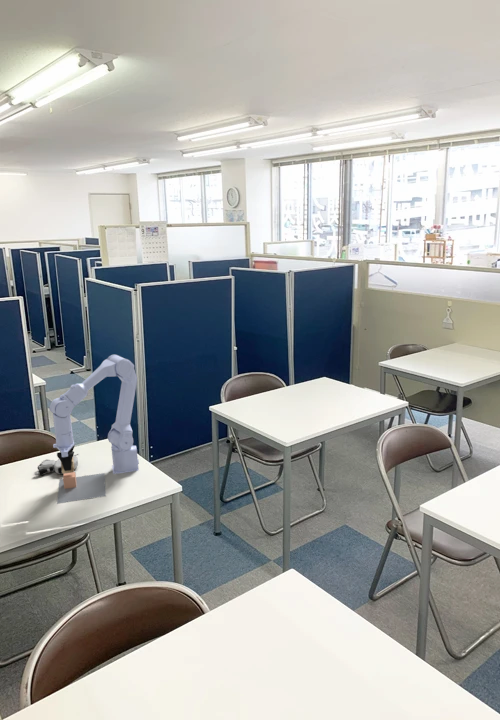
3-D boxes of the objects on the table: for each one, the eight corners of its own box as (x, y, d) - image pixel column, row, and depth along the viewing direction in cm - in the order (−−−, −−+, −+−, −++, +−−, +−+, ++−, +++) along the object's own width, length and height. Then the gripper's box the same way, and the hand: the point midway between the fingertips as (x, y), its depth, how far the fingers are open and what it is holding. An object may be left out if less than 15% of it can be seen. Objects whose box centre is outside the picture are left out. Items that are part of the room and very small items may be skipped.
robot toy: (34, 482, 204) (75, 476, 204) (31, 471, 202) (72, 465, 203) (43, 467, 215) (82, 462, 216) (41, 456, 214) (80, 451, 215)
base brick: (76, 481, 199) (75, 471, 198) (76, 487, 196) (74, 476, 195) (64, 483, 198) (63, 473, 197) (64, 488, 195) (63, 478, 194)
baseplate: (104, 474, 206) (104, 472, 206) (105, 497, 189) (105, 495, 189) (59, 481, 202) (59, 479, 202) (57, 505, 185) (56, 503, 185)
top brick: (74, 466, 198) (73, 456, 197) (74, 471, 194) (72, 461, 193) (62, 468, 197) (61, 458, 196) (62, 473, 193) (60, 462, 192)
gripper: (52, 425, 197) (57, 460, 201) (50, 441, 184) (55, 478, 187) (73, 423, 199) (77, 457, 203) (72, 438, 185) (76, 475, 189)
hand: (68, 467), depth 195 cm, fingers closed on top brick, 4 cm apart
